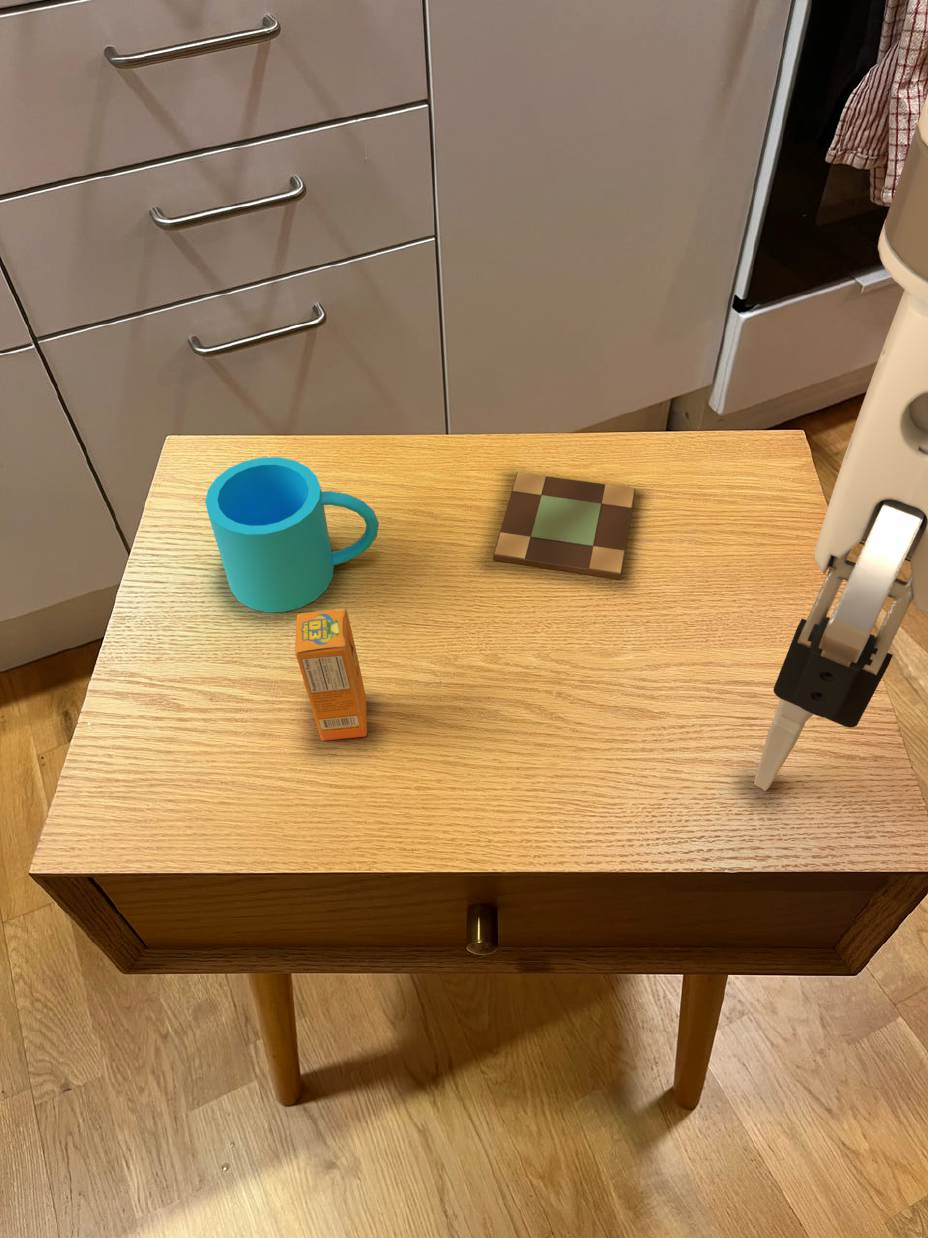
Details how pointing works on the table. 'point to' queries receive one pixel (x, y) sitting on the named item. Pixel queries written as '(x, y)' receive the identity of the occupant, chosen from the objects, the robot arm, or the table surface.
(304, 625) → the supplement box
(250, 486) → the mug
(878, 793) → the table surface
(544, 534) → the board
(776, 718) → the beige tapered rod
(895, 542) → the robot arm
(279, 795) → the table surface
